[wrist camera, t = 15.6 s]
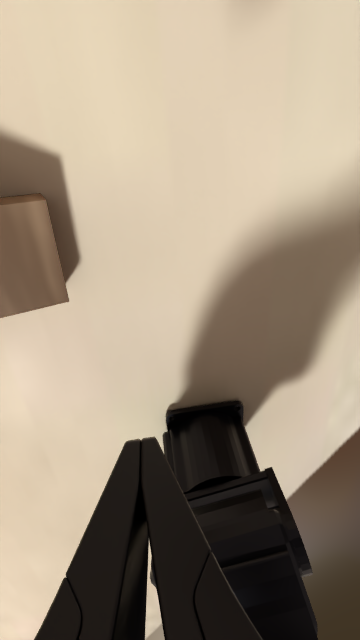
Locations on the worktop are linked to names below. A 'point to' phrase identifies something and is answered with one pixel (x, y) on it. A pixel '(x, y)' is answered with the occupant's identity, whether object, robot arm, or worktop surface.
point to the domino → (28, 257)
